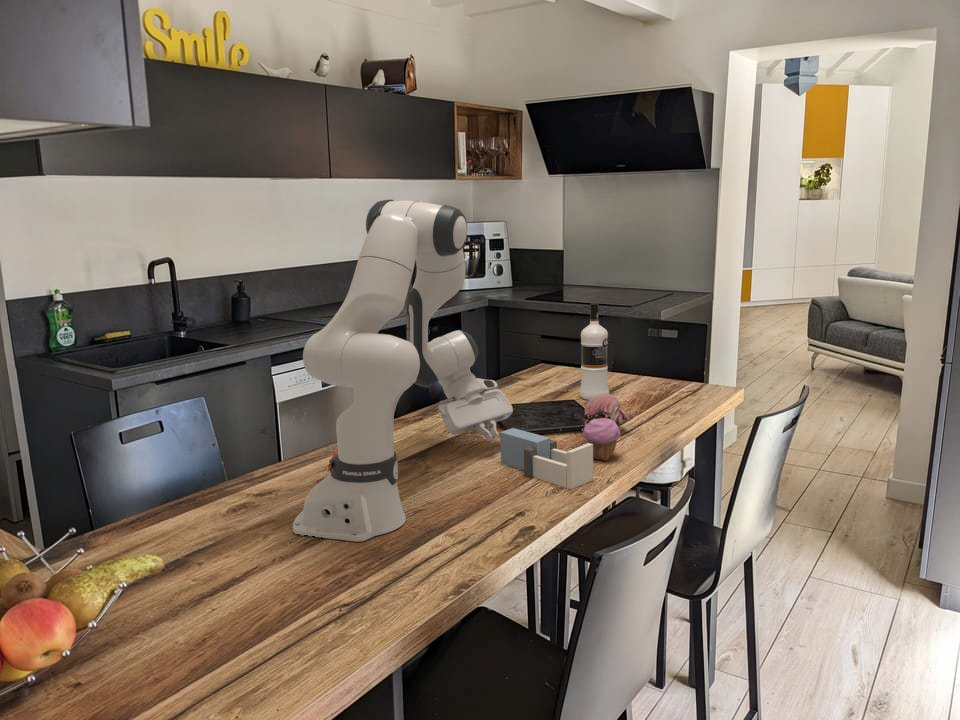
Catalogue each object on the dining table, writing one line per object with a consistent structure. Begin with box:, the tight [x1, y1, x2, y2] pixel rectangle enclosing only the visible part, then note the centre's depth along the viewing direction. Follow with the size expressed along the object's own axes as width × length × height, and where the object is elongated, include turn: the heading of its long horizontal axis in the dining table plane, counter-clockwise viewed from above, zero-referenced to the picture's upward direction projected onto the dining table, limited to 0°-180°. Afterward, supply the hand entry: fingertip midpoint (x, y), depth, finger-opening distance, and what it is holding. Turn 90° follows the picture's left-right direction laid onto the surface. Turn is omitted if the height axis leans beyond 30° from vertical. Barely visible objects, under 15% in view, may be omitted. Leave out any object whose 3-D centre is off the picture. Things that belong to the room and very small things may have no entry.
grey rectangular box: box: [499, 427, 551, 471], centre depth 186 cm, size 12×4×8 cm, turn 44°
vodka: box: [579, 302, 610, 401], centre depth 244 cm, size 9×9×30 cm
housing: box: [523, 439, 594, 490], centre depth 179 cm, size 13×9×8 cm
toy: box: [581, 393, 632, 427], centre depth 210 cm, size 12×11×15 cm
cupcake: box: [582, 418, 621, 462], centre depth 191 cm, size 9×9×10 cm
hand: (493, 438), depth 194 cm, fingers closed
